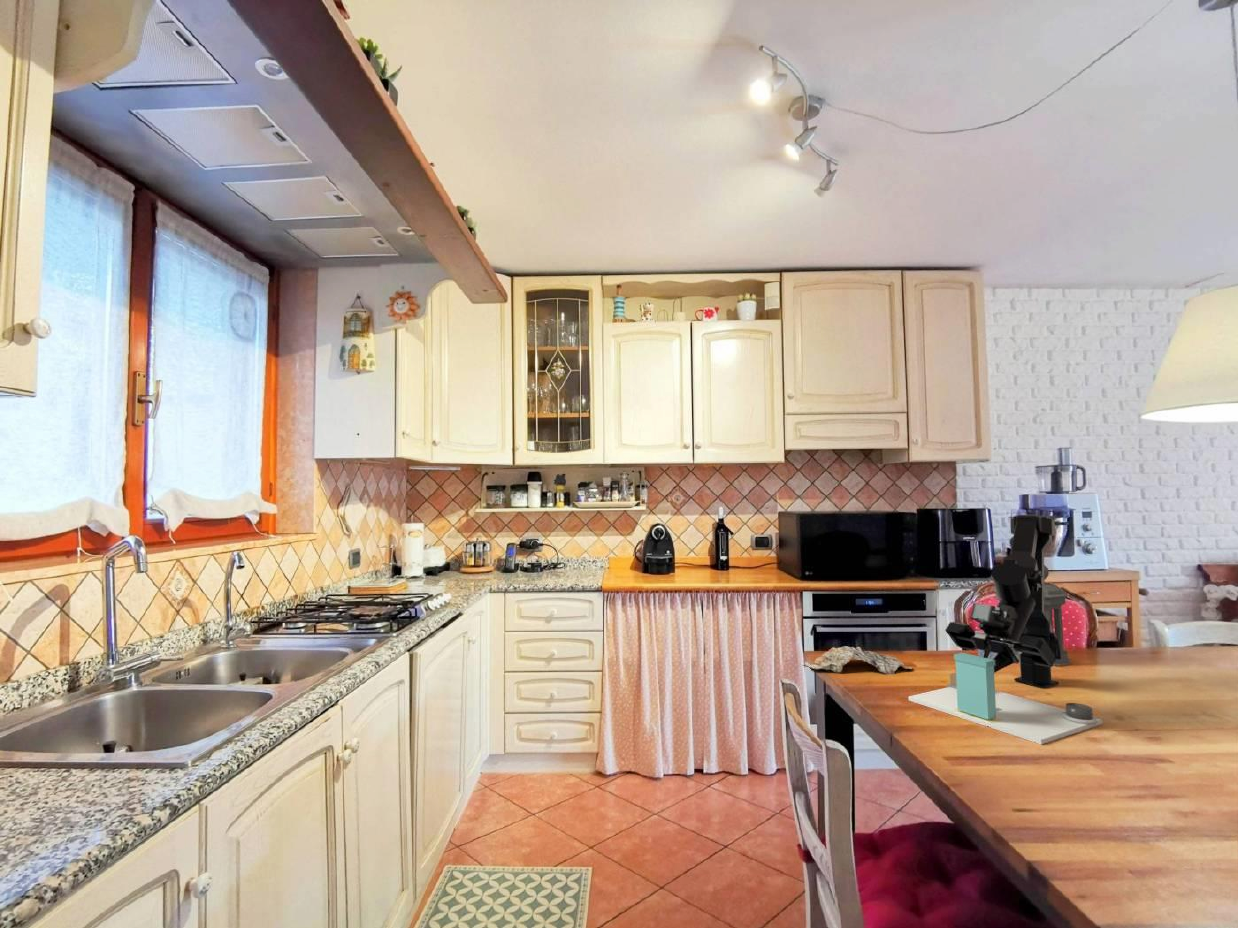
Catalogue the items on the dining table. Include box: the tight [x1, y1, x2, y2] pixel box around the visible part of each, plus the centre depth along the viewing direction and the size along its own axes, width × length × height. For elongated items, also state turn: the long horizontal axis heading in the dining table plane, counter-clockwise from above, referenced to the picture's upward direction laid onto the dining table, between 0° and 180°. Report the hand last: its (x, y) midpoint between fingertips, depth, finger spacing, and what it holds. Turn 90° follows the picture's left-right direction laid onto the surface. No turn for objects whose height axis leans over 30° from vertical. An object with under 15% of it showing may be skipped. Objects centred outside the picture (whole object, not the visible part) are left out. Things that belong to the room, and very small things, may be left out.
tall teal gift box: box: [953, 652, 996, 720], centre depth 116 cm, size 3×6×11 cm, turn 27°
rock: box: [802, 645, 914, 676], centre depth 153 cm, size 27×15×5 cm, turn 91°
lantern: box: [992, 535, 1071, 667], centre depth 160 cm, size 17×17×35 cm
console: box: [908, 672, 1103, 745], centre depth 120 cm, size 20×27×4 cm
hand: (980, 677), depth 116 cm, fingers closed
